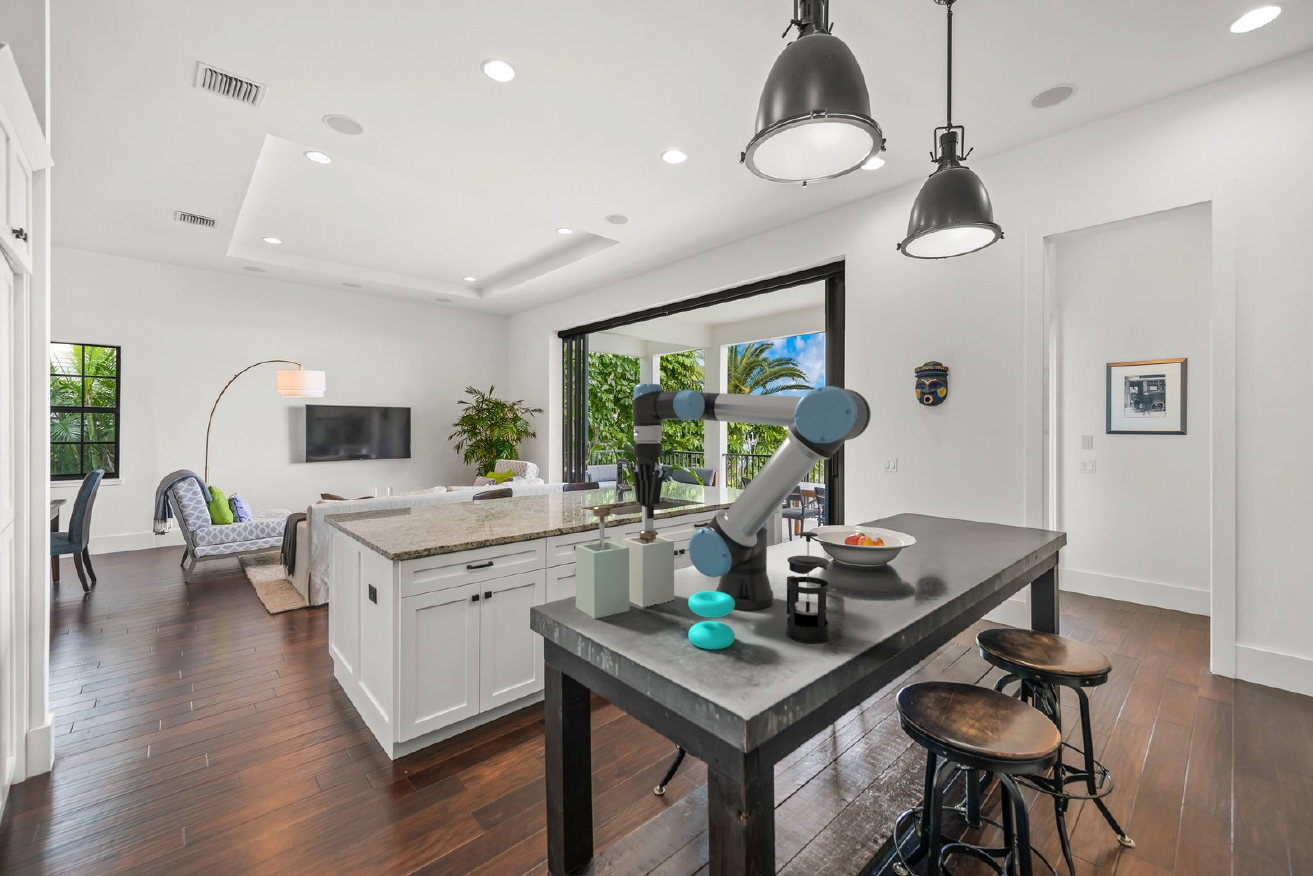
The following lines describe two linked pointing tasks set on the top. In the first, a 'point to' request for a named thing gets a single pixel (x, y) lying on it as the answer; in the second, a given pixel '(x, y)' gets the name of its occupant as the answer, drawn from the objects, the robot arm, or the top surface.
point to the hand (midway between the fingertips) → (647, 530)
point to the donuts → (711, 631)
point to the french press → (806, 615)
